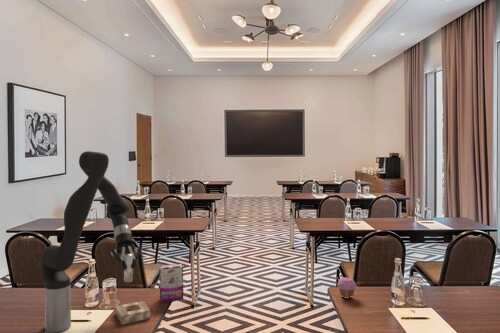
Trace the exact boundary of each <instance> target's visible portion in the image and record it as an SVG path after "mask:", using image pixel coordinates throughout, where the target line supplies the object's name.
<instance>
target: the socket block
mask: <svg viewBox="0 0 500 333" xmlns="http://www.w3.org/2000/svg"><path fill="white" fill-rule="evenodd" d="M115 315H116V317H117V319H118V320H119V322H120V324H121V325H125V324H129V323H134V322H139V321H143V320H149V319H151V309H150V308H149V307H148V306H147V304H146V303H145V301H144V300H141V301H136V302H131V303H130V302H129V303H125V304H120V305H119V304H118V305H115Z"/></svg>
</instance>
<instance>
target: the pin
mask: <svg viewBox="0 0 500 333" xmlns="http://www.w3.org/2000/svg"><path fill="white" fill-rule="evenodd" d="M124 261H125V266H126V270H125V271H123V282H124V283H131V282H133V272H134V271H133V270H134V269H133V254H131V253H128V254H124Z"/></svg>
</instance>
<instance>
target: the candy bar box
mask: <svg viewBox="0 0 500 333" xmlns="http://www.w3.org/2000/svg"><path fill="white" fill-rule="evenodd" d="M158 269H159V301H160V302H161V303H162V302H171V301H172V302H173V301H180V300H184V265H183V263H173V264H164V265H163V264H162V265H159V268H158Z"/></svg>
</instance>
